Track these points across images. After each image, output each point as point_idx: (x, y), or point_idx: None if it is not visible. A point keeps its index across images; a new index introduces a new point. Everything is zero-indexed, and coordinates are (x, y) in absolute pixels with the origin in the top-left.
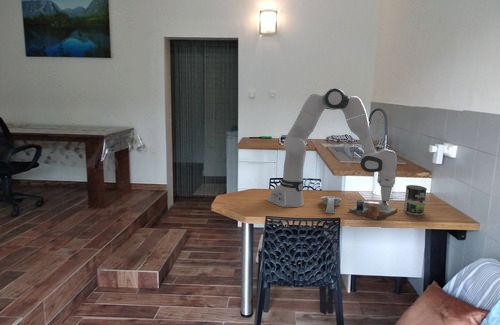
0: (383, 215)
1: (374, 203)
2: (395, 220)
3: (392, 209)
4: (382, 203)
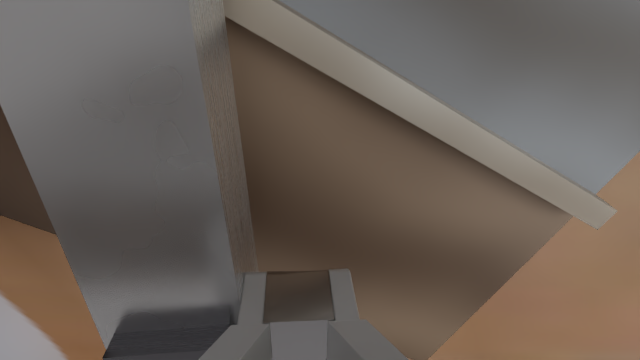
0: (23, 216)
1: (11, 121)
2: (42, 319)
3: (390, 321)
4: (168, 309)
